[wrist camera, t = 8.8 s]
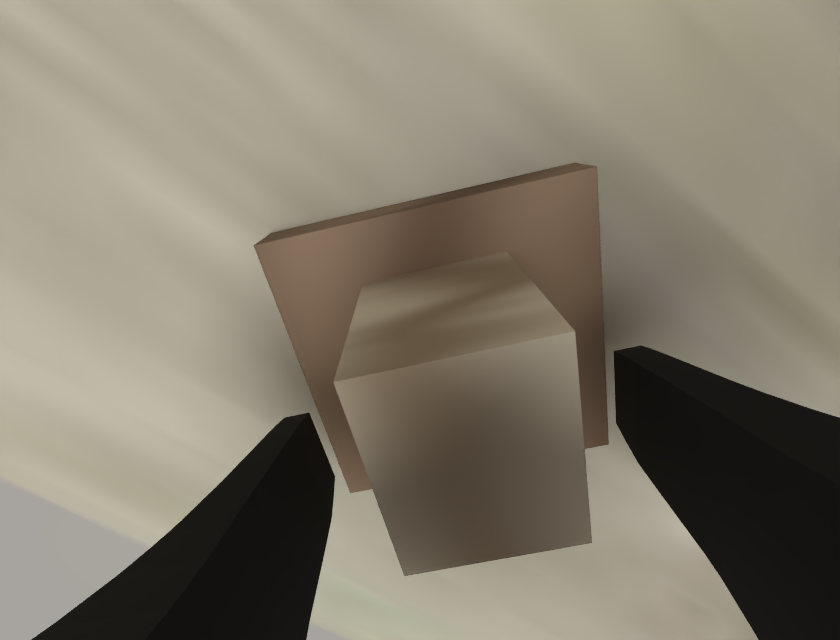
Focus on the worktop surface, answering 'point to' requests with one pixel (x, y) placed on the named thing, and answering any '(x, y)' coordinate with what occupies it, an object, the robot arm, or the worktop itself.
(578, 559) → the worktop surface
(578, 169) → the walnut board
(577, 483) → the birch block
